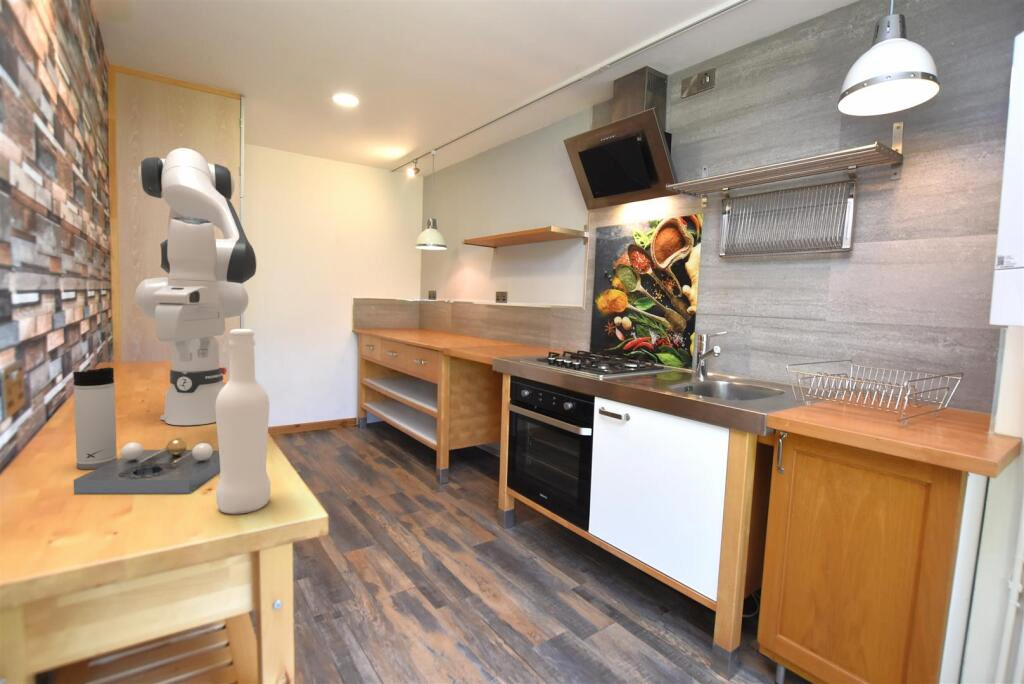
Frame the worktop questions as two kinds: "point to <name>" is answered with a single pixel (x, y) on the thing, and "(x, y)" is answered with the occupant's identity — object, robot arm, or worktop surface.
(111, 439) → the travel mug
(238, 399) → the bottle
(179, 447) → the brass ball
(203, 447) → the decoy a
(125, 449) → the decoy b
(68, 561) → the worktop surface
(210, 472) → the plate
